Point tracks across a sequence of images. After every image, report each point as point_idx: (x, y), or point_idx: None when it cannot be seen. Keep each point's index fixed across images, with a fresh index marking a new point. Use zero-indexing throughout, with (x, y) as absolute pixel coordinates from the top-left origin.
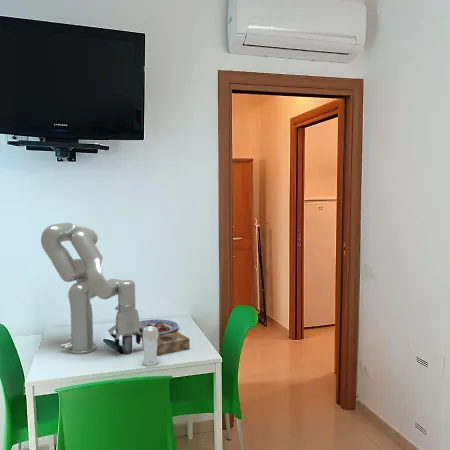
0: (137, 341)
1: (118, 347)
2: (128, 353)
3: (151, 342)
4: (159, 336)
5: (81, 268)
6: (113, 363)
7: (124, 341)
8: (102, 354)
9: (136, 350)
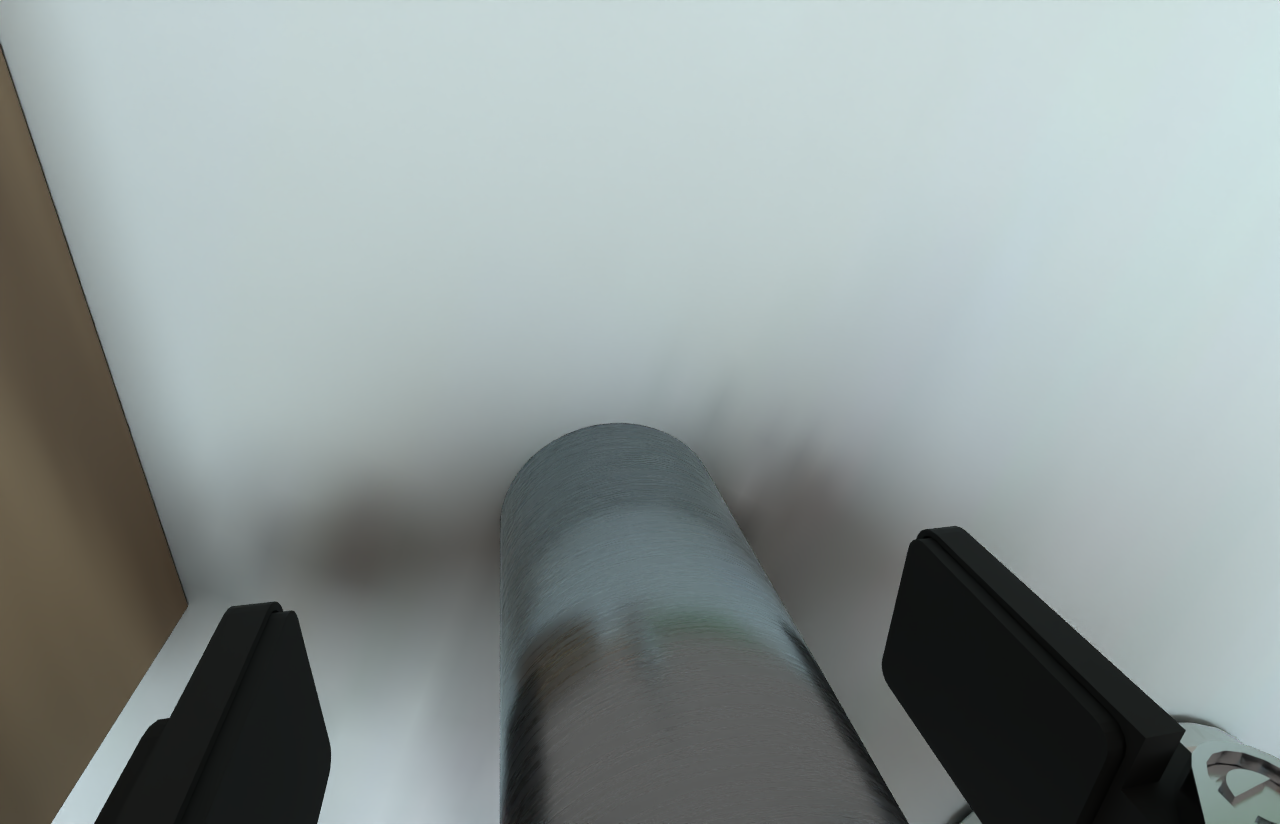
0: (293, 718)
1: (957, 531)
2: (627, 432)
3: None
4: None
5: None
6: (1158, 24)
7: (829, 689)
8: None
9: (375, 569)
